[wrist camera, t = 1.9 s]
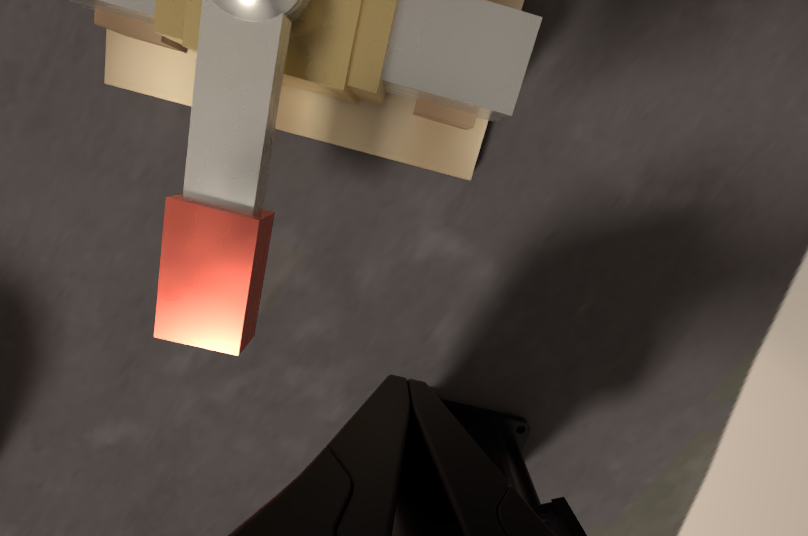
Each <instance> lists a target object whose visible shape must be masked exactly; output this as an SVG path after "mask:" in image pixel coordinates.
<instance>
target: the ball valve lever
mask: <svg viewBox="0 0 808 536" xmlns="http://www.w3.org/2000/svg"><path fill="white" fill-rule="evenodd" d="M308 2H309V0H202V9H201V19H200V29H199V39H198V49H197V59H196V69H195V79H194V89H193V99H192V109H191V119H190V129H189V140H188V150H187V160H186V170H185V180H184V190H183V194H179V195H174V196H169V197H166V203H165V214H164V226H163V237H162V249H161V260H160V272H159V283H158V294H157V306H156V317H155V329H154V337H155V338H160V339H164V340H169V341H173V342H178V343H182V344H187V345H191V346H196V347H200V348H205V349H209V350H214V351H218V352H223V353H227V354H232V355H236V356H239V354H240V353H241V352H242V351H243V349H244V348H245V347H246V346H247V344H248V343H249V342H250V341H251V339H252V338H253V337H254V334H255V328H256V322H257V316H258V310H259V304H260V298H261V292H262V286H263V280H264V274H265V268H266V262H267V256H268V250H269V244H270V238H271V232H272V226H273V220H274V214H275V213H274V212H270V211H266V210H262V208H263V202H264V196H265V189H266V183H267V177H268V170H269V164H270V157H271V151H272V145H273V138H274V132H275V125H276V119H277V113H278V106H279V100H280V93H281V87H282V81H283V74H284V68H285V62H286V55H287V49H288V42H289V36H290V30H291V23H292V22H293V21H294V20H296V19H297V18H298V17H299V16H300V15H301V13H302V12H303V11H304V9H305V8H306V6H307V4H308Z"/></svg>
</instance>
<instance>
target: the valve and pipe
mask: <svg viewBox="0 0 808 536" xmlns="http://www.w3.org/2000/svg"><path fill="white" fill-rule="evenodd" d="M69 1H71V2H73V3H75V4H78V5H80V6H82V7H84V8H87V9H89V10H93V11H95V9H99V10H103V11H106V12H110V13H113V14H117V15H121V16H124V17H128V18H131V19H135V20H139V21H142V22H146V23H149V24H153V25H154V28H153V32H155V33H158V34H160V35H162V36H164V37H166V38H168V39H170V40H173V41H175V42H177V43H179V44H181V45H182V46H183V47H185V48H187V49H190V50H192V51H194V52H196V53H197V49H198V39H199V29H200V19H201V9H202V0H69ZM542 18H543V17H540V16H537V15H533V14H530V13H527V12H523V11H520V10H517V9H513V8H510V7H507V6H503V5H500V4H497V3H493V2H490V1H487V0H309V2H308V4H307V6H306V8H305V9H304V11H303V12H302V13H301V15H300V16H299V17H298V18H297V19H296V20H294V21H293V22H292V23H291V30H290V36H289V42H288V49H287V55H286V62H285V68H284V74H283V81H282V84H283V85H287V86H291V87H294V88H298V89H302V90H305V91H309V92H313V93H316V94H320V95H324V96H327V97H331V98H335V99H338V100H342V101H345V102H349V103H353V104H356V105H359V100H363V101H366V102H370V103H374V104H377V105H381V106H383V102H384V98H385V93H386V92H388V93H392V94H395V95H399V96H402V97H406V98H410V99H413V100H417V98H419V99H422V100H426V101H430V102H433V103H437V104H440V105H444V106H448V107H451V108H455V109H458V110H462V111H465V112H469V113H473V114H476V115H477V117H478V118H482V119H485V120H489V121H492V122H493V121H496V120H500V119H503V118H506V117H510V116H512V114H513V110H514V107H515V104H516V101H517V98H518V94H519V91H520V88H521V85H522V82H523V78H524V75H525V72H526V69H527V66H528V62H529V59H530V56H531V53H532V50H533V46H534V43H535V40H536V37H537V34H538V30H539V27H540V24H541V21H542Z"/></svg>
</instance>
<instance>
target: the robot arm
mask: <svg viewBox="0 0 808 536" xmlns="http://www.w3.org/2000/svg"><path fill="white" fill-rule="evenodd" d="M519 426H523V427H522V428H520V429H517V427H519ZM529 431H530V427H529V425H528V423H527V421H526V420H525V419H524V418H521V417H516V416H512V415H507V414H503V413H498V412H494V411H489V410H485V409H480V408H476V407H471V406H467V405H462V404H458V403H453V402H449V401H444V400H440V399H439V398H438V397H437V395H436V394H435V393H434V392H433V391H432V389H431V388H430V387H429V386H428V385H427V384H426V383H425V382H422V381H417V380H413V379H409V380H408V381H407V379H406V378H404V377H400V376H395V375H389V376H388V377H387V378H386V379H385V380H384V381H383V382H382V384H381V385H380V386H379V387H378V388H377V389H376V390H375V391H374V393H373V394H372V395H371V396H370V397H369V398H368V399H367V401H366V402H365V403H364V404H363V405H362V406H361V407H360V408H359V410H358V411H357V412H356V413H355V414H354V415H353V416H352V418H351V419H350V420H349V421H348V422H347V423H346V424H345V425H344V427H343V428H342V429H341V430H340V431H339V432H338V433H337V435H336V436H335V437H334V438H333V439H332V440H331V441H330V442H329V444H328V445H327V446H326V448H324V449H323V450H322V451H321V452H320V454H319V455H318V456H317V457H316V458H315V459H314V460H313V461H312V462H311V463H310V464H309V465H308V466H307V467H306V469H305V470H304V471H303V472H302V473H301V474H300V475H299V476H298V477H297V478H295V479H294V480H293V481H292V482H291V483H290V484H289V485H288V486H286V487H285V488H284V489H283V490H282V491H281V492H280V493H279V494H277V495H276V496H275V497H274V498H272V499H271V500H270V501H269V502H268V503H266V504H265V505H264V506H263V507H262V508H260V509H259V510H258V511H257V512H256V513H254V514H253V515H252V516H251V517H250V518H248V519H247V520H246V521H245V522H244V523H242V524H241V525H240V526H239V527H238V528H236V529H235V530H234V531H233V532H232V533H230V534H229V535H228V536H587V535H586V533H585V531H584V530H583V528H582V526H581V525H580V523H579V521H578V520H577V518H576V516H575V515H574V513H573V511H572V510H571V508H570V506H569V505H568V503H567V501H566V500H565V498H564V497H560V498H556V499H551V501H552V502H550V503H545V504H541V503H540V500H539V498H538V495H537V493H536V490H535V488H534V485H533V482H532V480H531V477H530V475H529V472H528V469H527V467H526V464H525V462H524V459H523V457H522V454H521V451H522V448H523V446H524V444H525V441H526V439H527V436H528V434H529Z"/></svg>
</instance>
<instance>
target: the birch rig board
mask: <svg viewBox="0 0 808 536" xmlns="http://www.w3.org/2000/svg"><path fill="white" fill-rule="evenodd" d="M487 1H490V2H493V3H497V4H500V5H503V6H507V7H510V8H513V9H517V10H520V11H521V10H522V6H523V3H524V0H487ZM94 24H97V25H99V26H101V27H104V28H106V29H107V35H106V60H105V84H109V85H113V86H116V87H120V88H124V89H128V90H131V91H135V92H139V93H143V94H146V95H150V96H154V97H158V98H162V99H165V100H169V101H173V102H177V103H180V104H184V105H188V106H192V99H193V89H194V79H195V69H196V59H197V53H196V52H194V51H192V50H190V49H187V48H185V47H183V46H182V45H181V44H179V43H177V42H175V41H173V40H170V39H168V38H166V37H164V36H162V35H160V34H158V33H155V32H153V28H154V25H153V24H149V23H146V22H142V21H139V20H135V19H131V18H128V17H124V16H121V15H117V14H113V13H110V12H106V11H103V10H99V9H95V13H94ZM487 124H488V120H485V119H482V118H478V117H477V115H476V114H473V113H469V112H465V111H462V110H458V109H455V108H451V107H448V106H444V105H440V104H437V103H433V102H430V101H426V100H422V99H419V98H417V100H413V99H410V98H406V97H402V96H399V95H395V94H392V93H388V92H386V93H385V98H384V102H383V106H381V105H377V104H374V103H370V102H366V101H363V100H359V105H356V104H353V103H349V102H345V101H342V100H338V99H335V98H331V97H327V96H324V95H320V94H316V93H313V92H309V91H305V90H302V89H298V88H294V87H291V86H287V85H283V84H282V87H281V93H280V100H279V106H278V113H277V119H276V125H275V129H278V130H282V131H286V132H290V133H293V134H297V135H301V136H305V137H308V138H312V139H316V140H320V141H324V142H327V143H331V144H335V145H339V146H342V147H346V148H350V149H354V150H357V151H361V152H365V153H369V154H373V155H376V156H380V157H384V158H388V159H391V160H395V161H399V162H403V163H406V164H410V165H414V166H418V167H421V168H425V169H429V170H433V171H437V172H440V173H444V174H448V175H452V176H455V177H459V178H463V179H467V180H470V181H471V177H472V174H473V171H474V167H475V164H476V160H477V157H478V154H479V150H480V147H481V144H482V140H483V137H484V134H485V130H486V127H487Z"/></svg>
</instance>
